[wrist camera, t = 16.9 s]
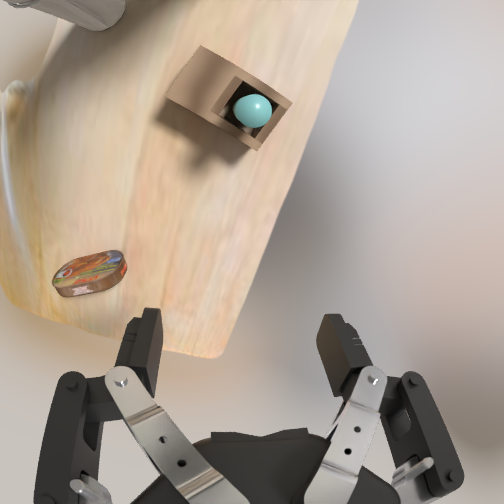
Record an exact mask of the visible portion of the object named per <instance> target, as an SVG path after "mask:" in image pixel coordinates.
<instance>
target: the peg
mask: <svg viewBox="0 0 504 504" xmlns="http://www.w3.org/2000/svg"><path fill="white" fill-rule="evenodd" d="M233 114H234V116H235V117H236V118H237V119H238V120H239V121H240V122H241V123H243V124H244V125H246V126H248V127H252V128H256V127H261V126H263V125H264V124H266V123H267V122H268V121H269V119H270V117H271V114H272V108H271V105H270V103H269V101H268V100H267V99H266V98H265V97H263V96H261V95H257V94H251V95H248V96H245V97H242V98H240V99H238V100H237V101H236V102H235V103H234V105H233Z"/></svg>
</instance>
